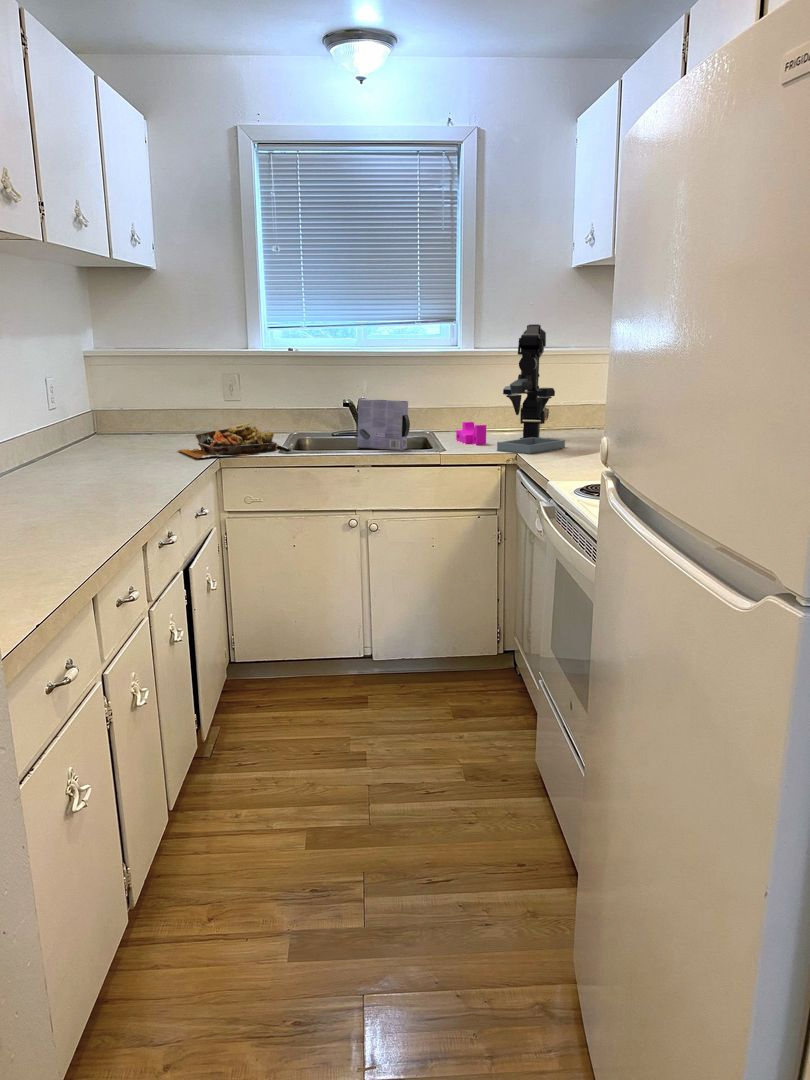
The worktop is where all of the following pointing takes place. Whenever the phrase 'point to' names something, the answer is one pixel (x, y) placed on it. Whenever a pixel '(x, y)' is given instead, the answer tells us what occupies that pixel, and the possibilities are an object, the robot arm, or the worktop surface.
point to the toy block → (471, 433)
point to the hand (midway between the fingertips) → (527, 415)
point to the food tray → (235, 442)
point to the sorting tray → (530, 445)
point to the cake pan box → (383, 424)
